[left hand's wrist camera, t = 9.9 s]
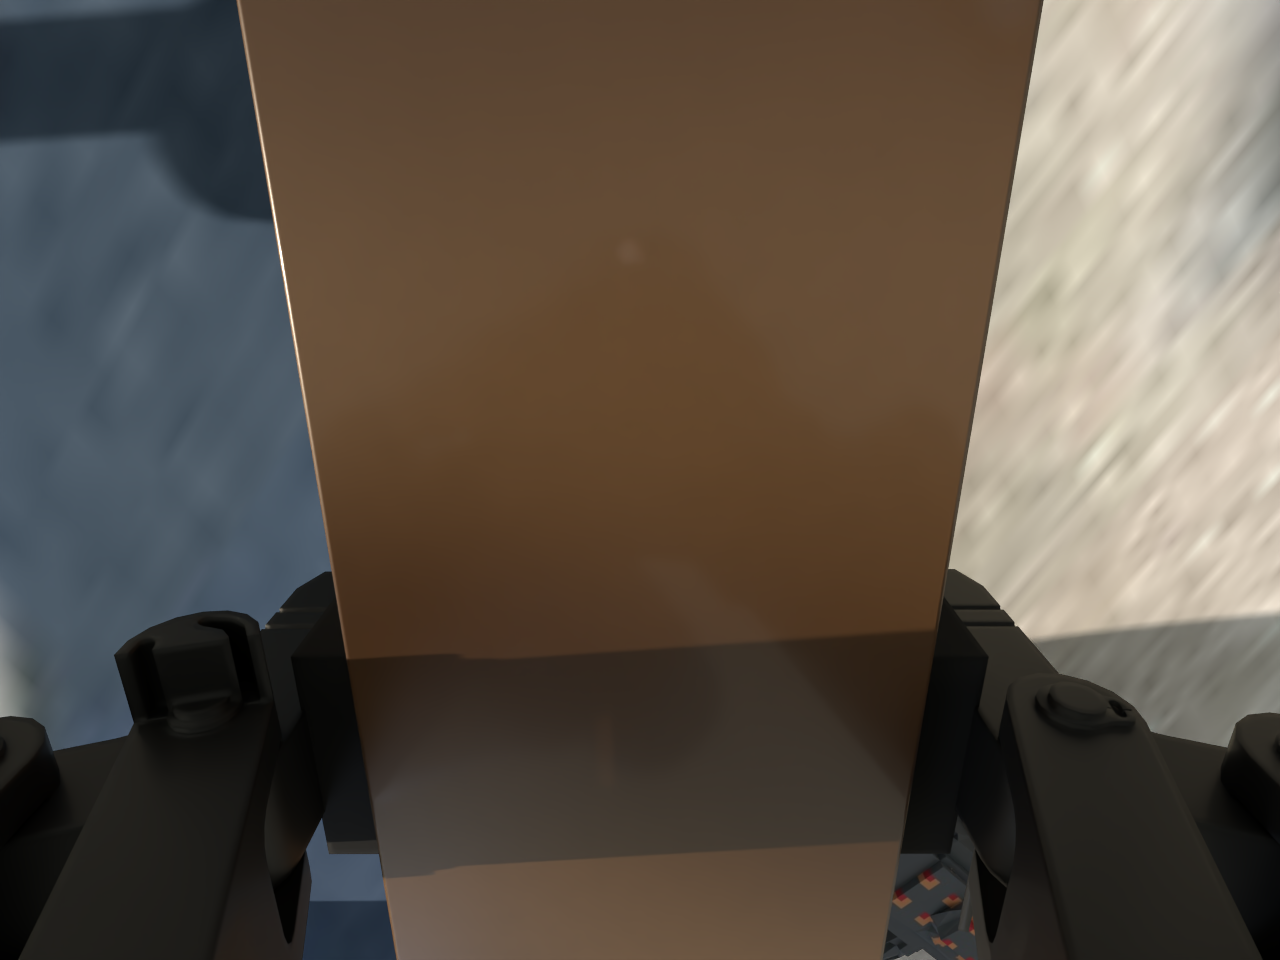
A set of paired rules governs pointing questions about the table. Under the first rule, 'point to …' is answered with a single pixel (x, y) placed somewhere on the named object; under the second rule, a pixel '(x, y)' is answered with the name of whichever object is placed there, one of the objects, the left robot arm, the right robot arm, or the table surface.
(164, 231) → the table surface
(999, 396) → the table surface
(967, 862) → the toy
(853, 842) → the brown wooden beam
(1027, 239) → the table surface
